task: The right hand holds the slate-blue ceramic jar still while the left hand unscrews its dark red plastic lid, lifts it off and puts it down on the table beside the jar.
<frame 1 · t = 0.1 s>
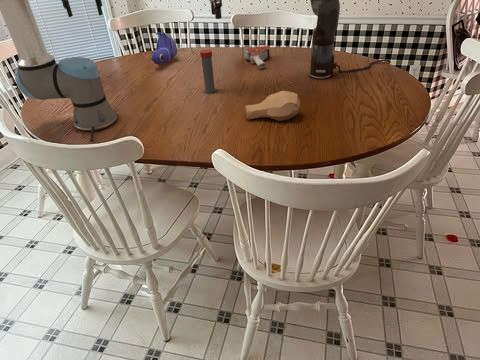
left hand: (85, 15, 157), 28 cm above the table, tool pointing down, fingers open, 13 cm apart
right hand: (216, 16, 136), 29 cm above the table, tool pointing down, fingers open, 8 cm apart
squash: (272, 117, 129), on the table
lid: (205, 51, 143), point 17 cm above the table, screwed on, not yet turned
toy: (164, 64, 185), on the table
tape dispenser: (256, 62, 180), on the table
jar: (210, 91, 152), on the table
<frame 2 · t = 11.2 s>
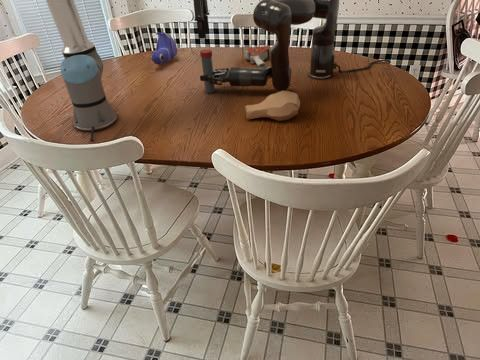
left hand: (204, 35, 139), 23 cm above the table, tool pointing down, fingers open, 7 cm apart
right hand: (202, 76, 149), 7 cm above the table, tool horizontal, fingers closed on jar, 4 cm apart
jar: (210, 91, 152), on the table, touching right hand
everything else where it was.
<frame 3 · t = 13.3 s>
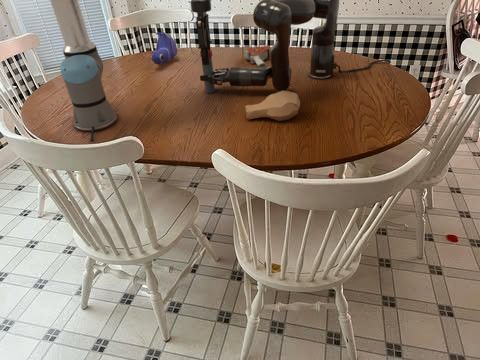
left hand: (207, 62, 145), 12 cm above the table, tool pointing down, fingers closed on lid, 5 cm apart
right hand: (202, 76, 149), 7 cm above the table, tool horizontal, fingers closed on jar, 4 cm apart
lid: (205, 51, 143), point 17 cm above the table, screwed on, not yet turned, touching left hand
jar: (210, 91, 152), on the table, touching right hand
everything else where it was.
when the left hand's fingers open (13 cm above the table, at t = 14.5 s): lid stays where it is, point 17 cm above the table.
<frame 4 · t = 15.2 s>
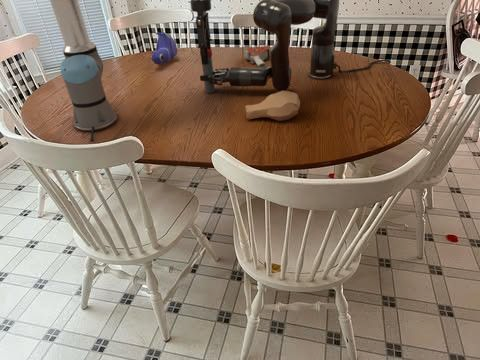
left hand: (206, 60, 145), 13 cm above the table, tool pointing down, fingers open, 7 cm apart
right hand: (202, 76, 149), 7 cm above the table, tool horizontal, fingers closed on jar, 4 cm apart
lid: (205, 51, 142), point 17 cm above the table, turned 75° so far, risen 0.2 cm, still on its thread
jar: (210, 91, 152), on the table, touching right hand
everything else where it was.
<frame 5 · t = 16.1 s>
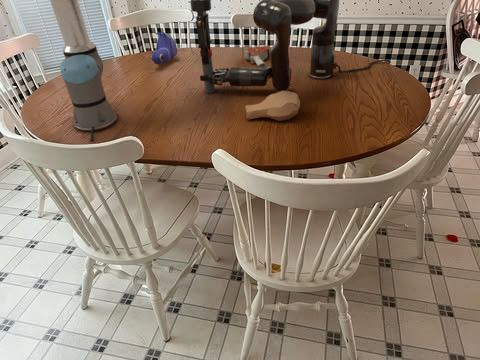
left hand: (206, 61, 145), 13 cm above the table, tool pointing down, fingers closed on lid, 5 cm apart
right hand: (202, 76, 149), 7 cm above the table, tool horizontal, fingers closed on jar, 4 cm apart
lid: (205, 51, 142), point 17 cm above the table, turned 75° so far, risen 0.2 cm, still on its thread, touching left hand
jar: (210, 91, 152), on the table, touching right hand
everything else where it was.
when the left hand's fingers open (0 cm above the table, at t = 22.8 s): lid drops 1 cm, point 2 cm above the table.
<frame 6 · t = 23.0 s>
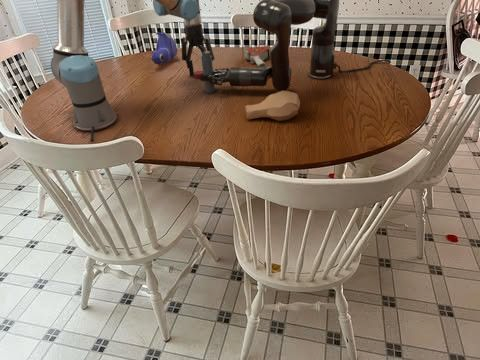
left hand: (200, 75, 167), 1 cm above the table, tool pointing down, fingers open, 8 cm apart
right hand: (202, 76, 149), 7 cm above the table, tool horizontal, fingers closed on jar, 4 cm apart
lid: (199, 73, 166), point 2 cm above the table, off its thread
jar: (210, 91, 152), on the table, touching right hand
everything else where it was.
when the right hand's fingers open (7 cm above the table, at t = 23.8 s): jar stays where it is, on the table.
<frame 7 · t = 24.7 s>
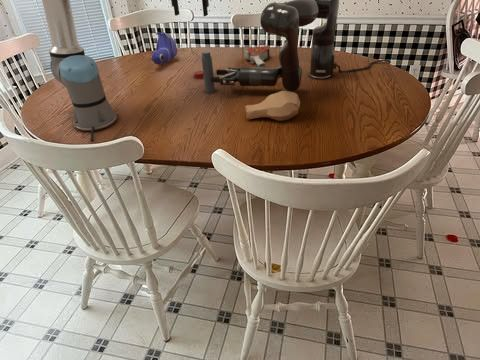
left hand: (191, 15, 152), 27 cm above the table, tool pointing down, fingers open, 13 cm apart
right hand: (213, 75, 148), 7 cm above the table, tool horizontal, fingers open, 8 cm apart
jar: (210, 91, 152), on the table
everything else where it was.
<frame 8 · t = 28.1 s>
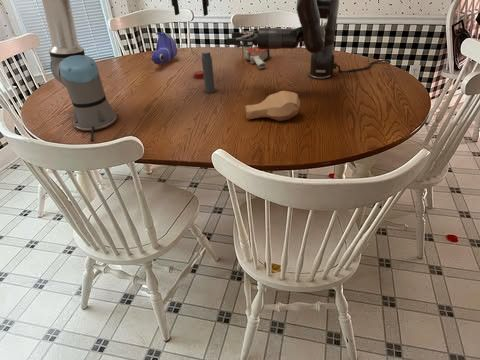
left hand: (191, 14, 151), 27 cm above the table, tool pointing down, fingers open, 13 cm apart
right hand: (229, 38, 137), 22 cm above the table, tool horizontal, fingers open, 8 cm apart
nothing on the table moved.
at the end: lid came off its thread; lid point 1.6 cm above the table; the left hand is holding nothing; the right hand is holding nothing; jar tilted 0°; jar moved 0.0 cm from its start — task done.
